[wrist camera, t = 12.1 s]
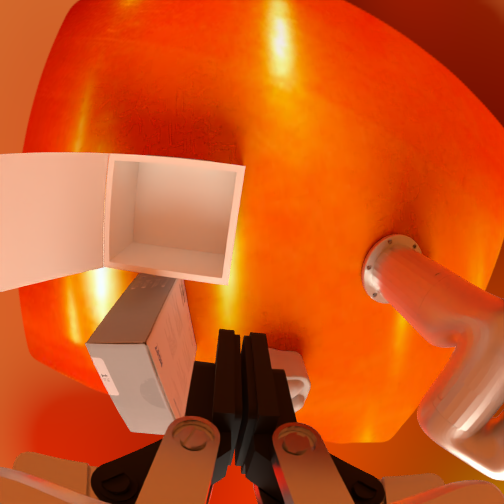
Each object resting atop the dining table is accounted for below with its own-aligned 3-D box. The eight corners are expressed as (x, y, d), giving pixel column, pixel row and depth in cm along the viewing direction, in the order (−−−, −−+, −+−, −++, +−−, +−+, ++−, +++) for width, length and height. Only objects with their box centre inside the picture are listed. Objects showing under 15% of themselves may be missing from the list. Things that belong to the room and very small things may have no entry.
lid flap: (-21, 156, 15) (-21, 156, 15) (-12, 294, 19) (-13, 292, 19) (108, 153, 28) (106, 153, 29) (103, 267, 32) (100, 265, 33)
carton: (243, 165, 40) (245, 165, 30) (229, 258, 44) (227, 285, 34) (137, 154, 38) (109, 152, 29) (129, 245, 42) (103, 266, 33)
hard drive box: (137, 272, 44) (82, 340, 24) (182, 268, 44) (147, 340, 25) (158, 350, 48) (129, 433, 29) (198, 349, 48) (184, 437, 29)
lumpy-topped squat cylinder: (308, 352, 50) (319, 383, 42) (287, 399, 53) (293, 430, 45) (253, 345, 49) (257, 377, 40) (238, 394, 52) (238, 426, 44)
